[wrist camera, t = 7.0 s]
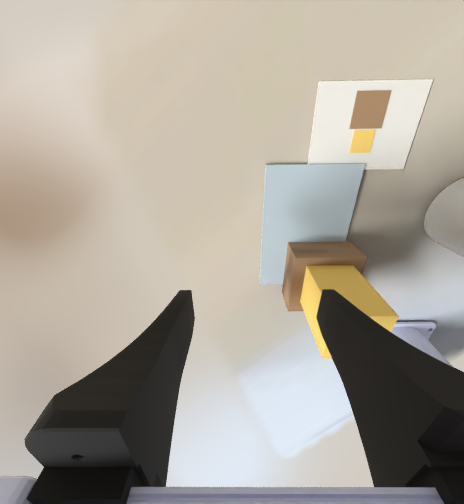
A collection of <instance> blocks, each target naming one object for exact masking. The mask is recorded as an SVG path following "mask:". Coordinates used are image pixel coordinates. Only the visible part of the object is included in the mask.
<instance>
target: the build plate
mask: <svg viewBox="0 0 464 504" xmlns="http://www.w3.org/2000/svg"><path fill="white" fill-rule="evenodd" d="M364 167H365V164H364V163H343V164H265V181H264V199H263V217H262V236H261V254H260V272H259V284H283V280H284V271H285V263H286V254H287V246H288V242H345V241H346V237H347V233H348V229H349V226H350V222H351V218H352V214H353V210H354V206H355V202H356V198H357V194H358V190H359V186H360V182H361V178H362V175H363V171H364Z"/></svg>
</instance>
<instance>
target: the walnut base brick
mask: <svg viewBox="0 0 464 504" xmlns="http://www.w3.org/2000/svg"><path fill="white" fill-rule="evenodd" d="M366 259H367V257H366V256H365V255H364V254H363V253H362V252H361V251H360V250H359V249H358V248H357V247H356V246H355V245H354V244H353V243H352V242H288V246H287V254H286V263H285V271H284V280H283V288H282V293H283V296H284V300H285V303H286V306H287V309H288V311H304V310H303V308H302V305H301V303H300V299H301V294H302V288H303V282H304V277H305V271H306V266H324V265H353V266H354V267H355V268H356V269H357V270H358V271H359V272H360V274H361V275H362V272H363V269H364V266H365V262H366Z"/></svg>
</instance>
